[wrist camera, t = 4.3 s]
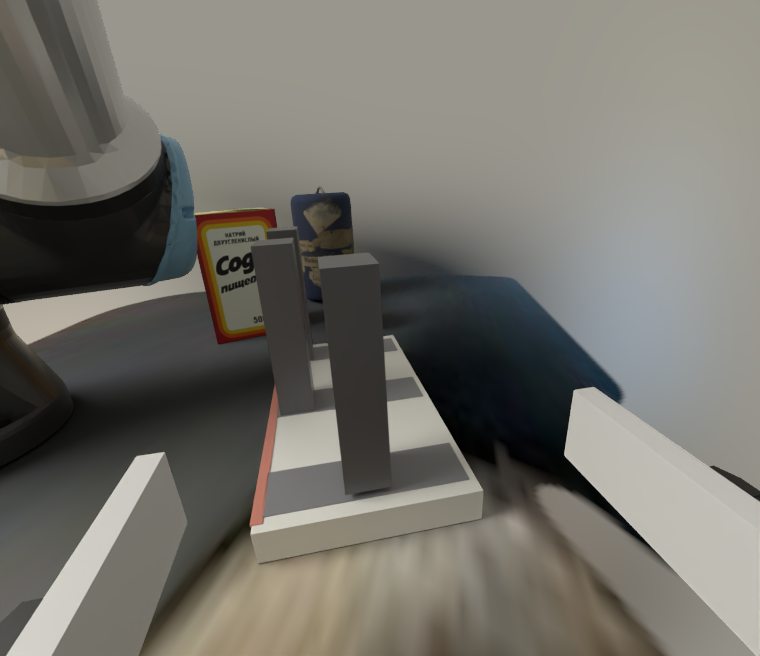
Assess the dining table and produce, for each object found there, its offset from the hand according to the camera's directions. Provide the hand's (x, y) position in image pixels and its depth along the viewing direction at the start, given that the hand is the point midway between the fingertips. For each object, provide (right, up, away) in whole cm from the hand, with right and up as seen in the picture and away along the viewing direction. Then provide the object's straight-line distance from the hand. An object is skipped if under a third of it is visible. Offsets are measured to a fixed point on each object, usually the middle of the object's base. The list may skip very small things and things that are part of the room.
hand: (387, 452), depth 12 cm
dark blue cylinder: (-9, +9, +53) cm, 54 cm away
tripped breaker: (-1, -4, +9) cm, 10 cm away
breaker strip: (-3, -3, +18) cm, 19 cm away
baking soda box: (-18, +4, +39) cm, 43 cm away
